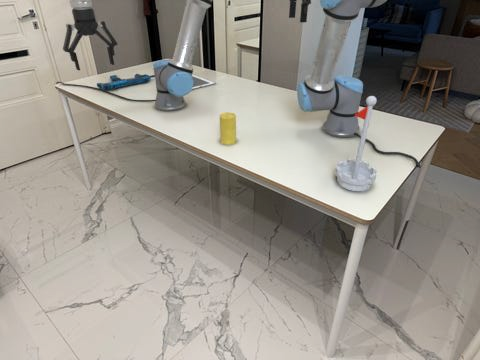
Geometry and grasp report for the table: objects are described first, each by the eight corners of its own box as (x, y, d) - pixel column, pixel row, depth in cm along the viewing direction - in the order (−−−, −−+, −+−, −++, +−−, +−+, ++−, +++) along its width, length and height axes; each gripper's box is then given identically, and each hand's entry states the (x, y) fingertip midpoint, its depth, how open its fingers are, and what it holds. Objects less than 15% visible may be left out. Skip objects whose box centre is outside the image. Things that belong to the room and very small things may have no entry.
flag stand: (357, 168, 122) (375, 86, 106) (382, 188, 112) (406, 100, 96) (326, 176, 118) (340, 91, 102) (349, 196, 108) (368, 106, 92)
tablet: (159, 78, 216) (159, 77, 215) (186, 72, 227) (186, 71, 226) (187, 90, 195) (187, 90, 195) (215, 83, 206) (215, 82, 206)
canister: (239, 142, 141) (238, 116, 134) (225, 146, 138) (224, 119, 131) (230, 136, 145) (230, 111, 139) (217, 140, 142) (216, 114, 136)
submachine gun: (141, 68, 225) (159, 74, 208) (142, 74, 227) (160, 80, 210) (89, 78, 206) (104, 86, 190) (91, 84, 208) (106, 92, 192)
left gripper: (48, 12, 116) (65, 74, 128) (119, 6, 129) (129, 63, 140) (43, 9, 121) (60, 70, 133) (111, 4, 134) (122, 60, 145)
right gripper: (283, -37, 149) (280, 16, 161) (305, -36, 129) (299, 24, 141) (299, -37, 151) (295, 15, 163) (323, -36, 131) (316, 24, 142)
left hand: (95, 66), depth 137 cm, fingers open, 13 cm apart
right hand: (297, 20), depth 152 cm, fingers open, 13 cm apart
